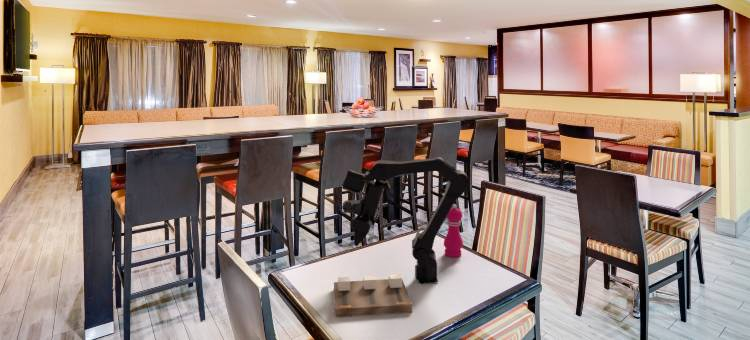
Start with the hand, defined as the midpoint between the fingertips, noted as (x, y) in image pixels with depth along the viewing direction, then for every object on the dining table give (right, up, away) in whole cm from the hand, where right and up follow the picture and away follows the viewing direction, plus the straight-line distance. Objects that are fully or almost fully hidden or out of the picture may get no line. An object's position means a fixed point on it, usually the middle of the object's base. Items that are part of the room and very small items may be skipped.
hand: (358, 241), depth 146 cm
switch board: (+4, -16, -13) cm, 21 cm away
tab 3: (+12, -12, -10) cm, 20 cm away
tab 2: (+4, -12, -11) cm, 17 cm away
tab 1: (-4, -13, -12) cm, 18 cm away
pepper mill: (+35, -9, +22) cm, 43 cm away
